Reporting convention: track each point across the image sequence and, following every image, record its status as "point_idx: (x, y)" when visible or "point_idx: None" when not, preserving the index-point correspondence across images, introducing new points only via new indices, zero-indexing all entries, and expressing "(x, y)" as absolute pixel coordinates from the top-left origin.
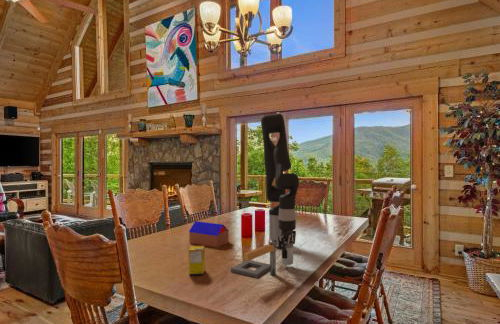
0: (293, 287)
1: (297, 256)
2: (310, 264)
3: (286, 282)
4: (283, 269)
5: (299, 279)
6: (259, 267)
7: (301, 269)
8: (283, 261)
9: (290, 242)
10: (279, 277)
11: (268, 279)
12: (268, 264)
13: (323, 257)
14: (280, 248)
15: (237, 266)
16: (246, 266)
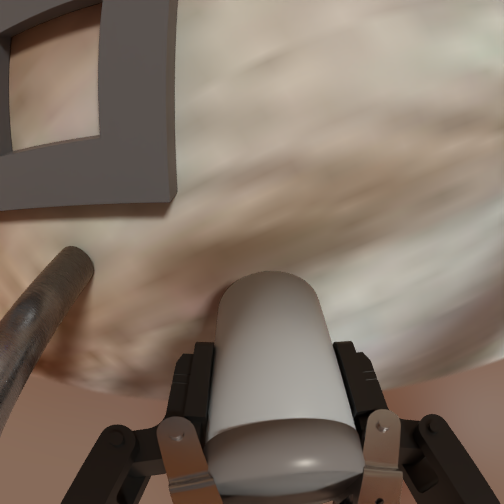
0: (58, 378)
1: (497, 255)
2: (378, 366)
3: (65, 351)
4: (208, 282)
5: (135, 385)
6: (52, 145)
7: None
8: (219, 315)
9: (311, 500)
10: (78, 309)
11: (21, 269)
12: (156, 169)
13: (479, 359)
14: (108, 442)
15: (2, 5)
16: (73, 7)
